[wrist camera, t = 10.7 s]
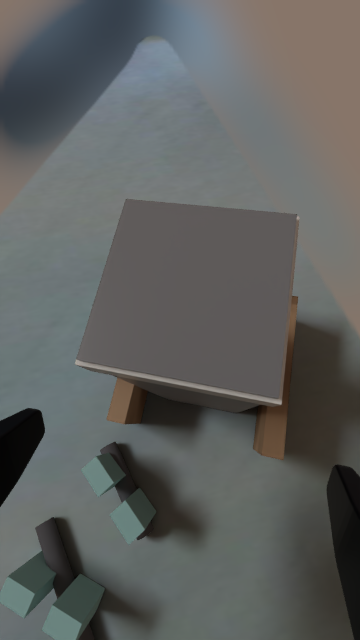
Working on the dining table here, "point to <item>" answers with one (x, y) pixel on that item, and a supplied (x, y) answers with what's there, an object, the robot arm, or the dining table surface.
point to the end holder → (269, 419)
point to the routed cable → (53, 542)
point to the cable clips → (83, 593)
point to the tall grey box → (196, 304)
